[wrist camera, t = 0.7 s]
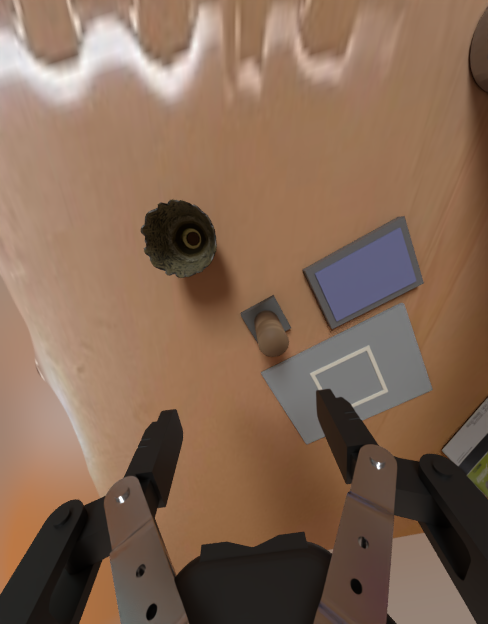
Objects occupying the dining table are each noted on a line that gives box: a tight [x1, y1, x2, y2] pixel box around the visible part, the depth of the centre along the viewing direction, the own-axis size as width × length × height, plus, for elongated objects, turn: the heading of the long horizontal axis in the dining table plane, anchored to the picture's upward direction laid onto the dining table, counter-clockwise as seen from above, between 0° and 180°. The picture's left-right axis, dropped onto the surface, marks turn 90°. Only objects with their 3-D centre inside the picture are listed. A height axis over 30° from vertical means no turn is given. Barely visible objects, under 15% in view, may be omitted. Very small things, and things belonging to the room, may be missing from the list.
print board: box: [261, 303, 433, 445], centre depth 38 cm, size 24×18×1 cm
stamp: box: [241, 295, 291, 357], centre depth 30 cm, size 6×6×8 cm
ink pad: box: [303, 216, 424, 329], centre depth 32 cm, size 14×10×2 cm
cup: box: [141, 200, 217, 278], centre depth 26 cm, size 8×7×8 cm
